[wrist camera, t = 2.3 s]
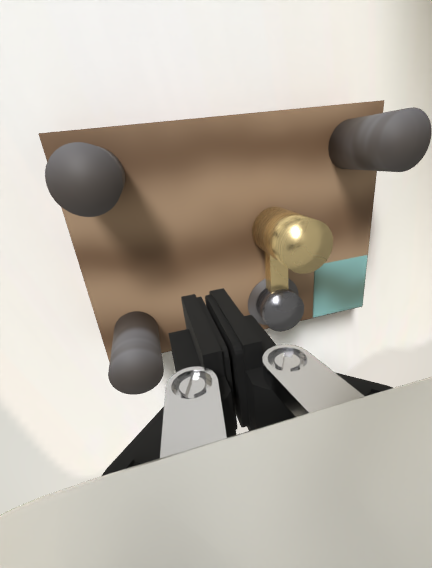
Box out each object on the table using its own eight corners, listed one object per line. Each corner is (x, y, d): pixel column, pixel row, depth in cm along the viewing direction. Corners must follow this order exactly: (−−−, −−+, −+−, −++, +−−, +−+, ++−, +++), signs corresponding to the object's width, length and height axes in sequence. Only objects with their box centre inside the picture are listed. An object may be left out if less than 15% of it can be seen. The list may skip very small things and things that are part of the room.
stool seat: (52, 136, 19) (2, 124, 12) (355, 107, 23) (453, 84, 16) (113, 343, 26) (104, 414, 19) (341, 293, 30) (407, 335, 23)
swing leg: (293, 315, 25) (327, 349, 21) (257, 323, 25) (284, 360, 20) (293, 203, 21) (334, 215, 17) (250, 210, 21) (281, 224, 16)
